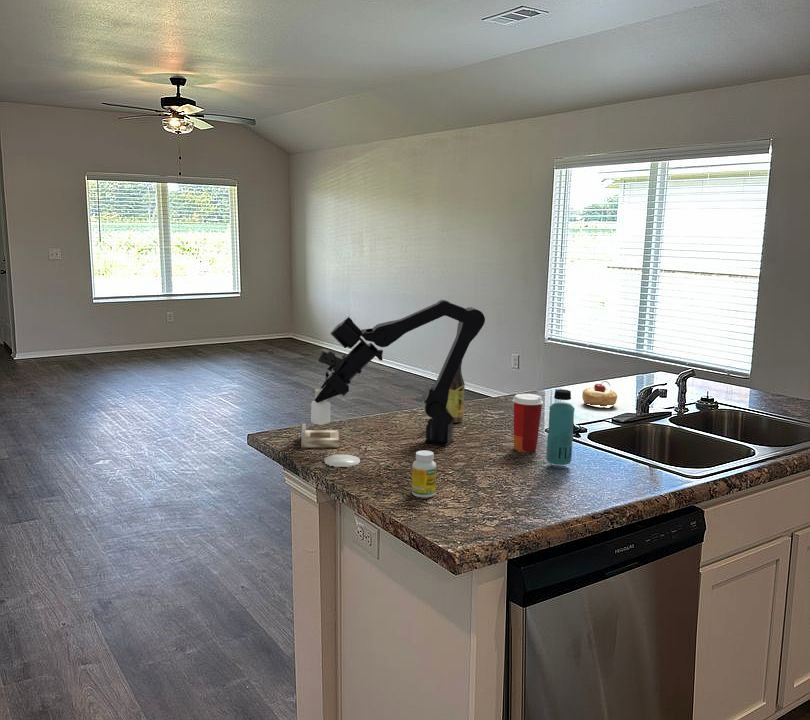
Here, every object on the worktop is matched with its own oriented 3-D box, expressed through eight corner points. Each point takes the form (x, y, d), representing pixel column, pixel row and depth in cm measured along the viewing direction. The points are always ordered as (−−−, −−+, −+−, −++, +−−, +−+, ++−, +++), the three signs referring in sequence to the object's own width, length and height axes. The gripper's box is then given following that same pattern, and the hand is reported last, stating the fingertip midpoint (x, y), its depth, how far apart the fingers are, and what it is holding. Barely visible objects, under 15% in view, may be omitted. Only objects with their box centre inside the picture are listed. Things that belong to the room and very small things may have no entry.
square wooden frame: (337, 437, 208) (338, 423, 207) (338, 447, 198) (338, 432, 197) (302, 437, 207) (302, 423, 206) (301, 447, 197) (301, 432, 196)
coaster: (366, 460, 187) (366, 458, 187) (348, 469, 179) (348, 467, 179) (336, 454, 191) (336, 452, 191) (317, 463, 183) (317, 461, 183)
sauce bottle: (461, 424, 226) (464, 361, 222) (441, 422, 227) (444, 359, 224) (464, 419, 232) (467, 357, 229) (444, 417, 233) (447, 356, 230)
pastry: (575, 402, 262) (577, 377, 260) (605, 401, 265) (607, 377, 263) (591, 410, 250) (593, 384, 249) (623, 409, 253) (625, 384, 252)
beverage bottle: (556, 472, 182) (561, 393, 179) (539, 464, 188) (544, 388, 185) (576, 469, 185) (582, 391, 182) (559, 461, 191) (564, 386, 188)
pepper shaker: (320, 420, 204) (321, 387, 202) (330, 423, 202) (331, 389, 200) (310, 423, 201) (310, 389, 199) (320, 426, 199) (320, 391, 197)
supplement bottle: (419, 488, 168) (421, 447, 166) (439, 493, 165) (441, 452, 164) (406, 494, 164) (408, 453, 162) (427, 500, 161) (429, 457, 159)
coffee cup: (543, 448, 203) (546, 395, 200) (535, 455, 196) (539, 401, 193) (514, 443, 206) (517, 391, 204) (505, 451, 199) (508, 397, 196)
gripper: (335, 334, 207) (295, 372, 208) (336, 344, 189) (293, 386, 189) (362, 361, 209) (323, 399, 210) (366, 374, 191) (323, 416, 191)
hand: (315, 399), depth 200 cm, fingers closed on pepper shaker, 4 cm apart
